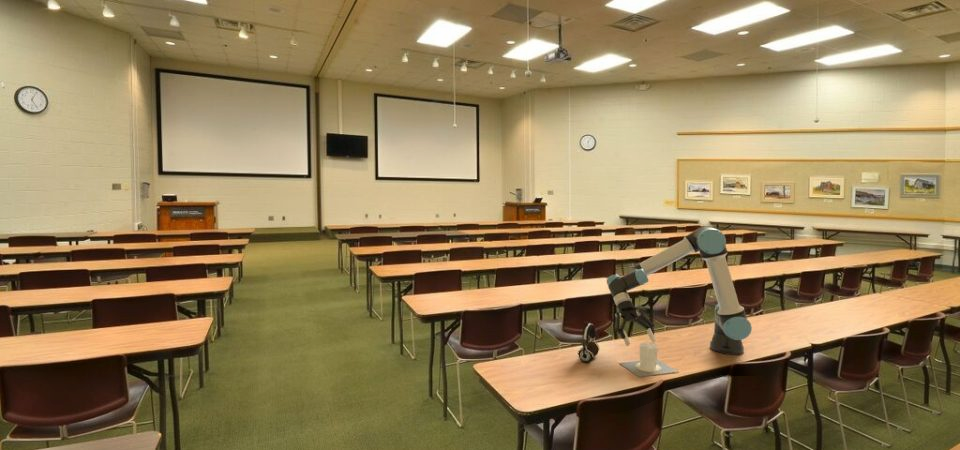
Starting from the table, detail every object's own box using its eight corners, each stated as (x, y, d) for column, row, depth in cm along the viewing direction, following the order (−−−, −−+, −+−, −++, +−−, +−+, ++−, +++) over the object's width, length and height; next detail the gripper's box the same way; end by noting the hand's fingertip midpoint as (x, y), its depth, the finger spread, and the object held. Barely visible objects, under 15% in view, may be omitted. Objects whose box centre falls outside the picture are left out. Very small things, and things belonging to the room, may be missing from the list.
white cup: (658, 370, 203) (659, 348, 203) (640, 369, 205) (640, 347, 204) (655, 364, 211) (656, 343, 210) (637, 363, 213) (638, 342, 212)
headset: (591, 366, 210) (591, 325, 208) (575, 363, 213) (575, 322, 212) (600, 355, 224) (601, 316, 223) (585, 352, 228) (586, 314, 226)
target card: (656, 359, 218) (656, 358, 218) (678, 372, 203) (678, 371, 203) (619, 363, 213) (619, 362, 213) (639, 377, 198) (639, 376, 198)
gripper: (642, 305, 231) (660, 344, 218) (598, 309, 225) (614, 349, 212) (649, 298, 226) (668, 337, 213) (604, 301, 219) (620, 342, 206)
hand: (641, 343), depth 212 cm, fingers open, 13 cm apart
